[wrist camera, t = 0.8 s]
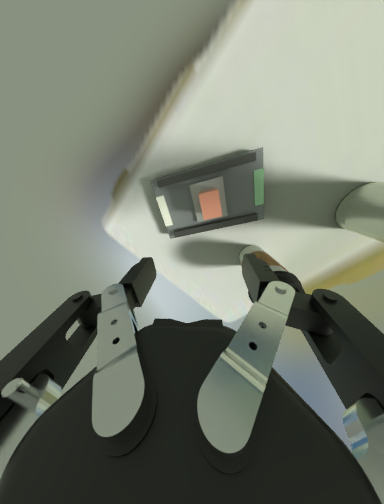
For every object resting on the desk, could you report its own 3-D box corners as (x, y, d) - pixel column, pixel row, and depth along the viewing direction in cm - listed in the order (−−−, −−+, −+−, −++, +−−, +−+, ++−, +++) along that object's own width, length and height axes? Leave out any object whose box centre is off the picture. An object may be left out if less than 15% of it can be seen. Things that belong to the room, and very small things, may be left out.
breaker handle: (222, 176, 24) (227, 175, 19) (227, 215, 27) (232, 223, 22) (189, 185, 25) (186, 186, 20) (197, 221, 28) (196, 230, 23)
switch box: (256, 150, 25) (266, 145, 21) (258, 215, 30) (266, 220, 26) (155, 180, 28) (148, 180, 24) (172, 234, 33) (169, 240, 30)
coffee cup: (243, 236, 32) (271, 274, 19) (275, 246, 33) (323, 290, 20) (228, 264, 36) (243, 312, 23) (257, 272, 37) (288, 324, 24)
